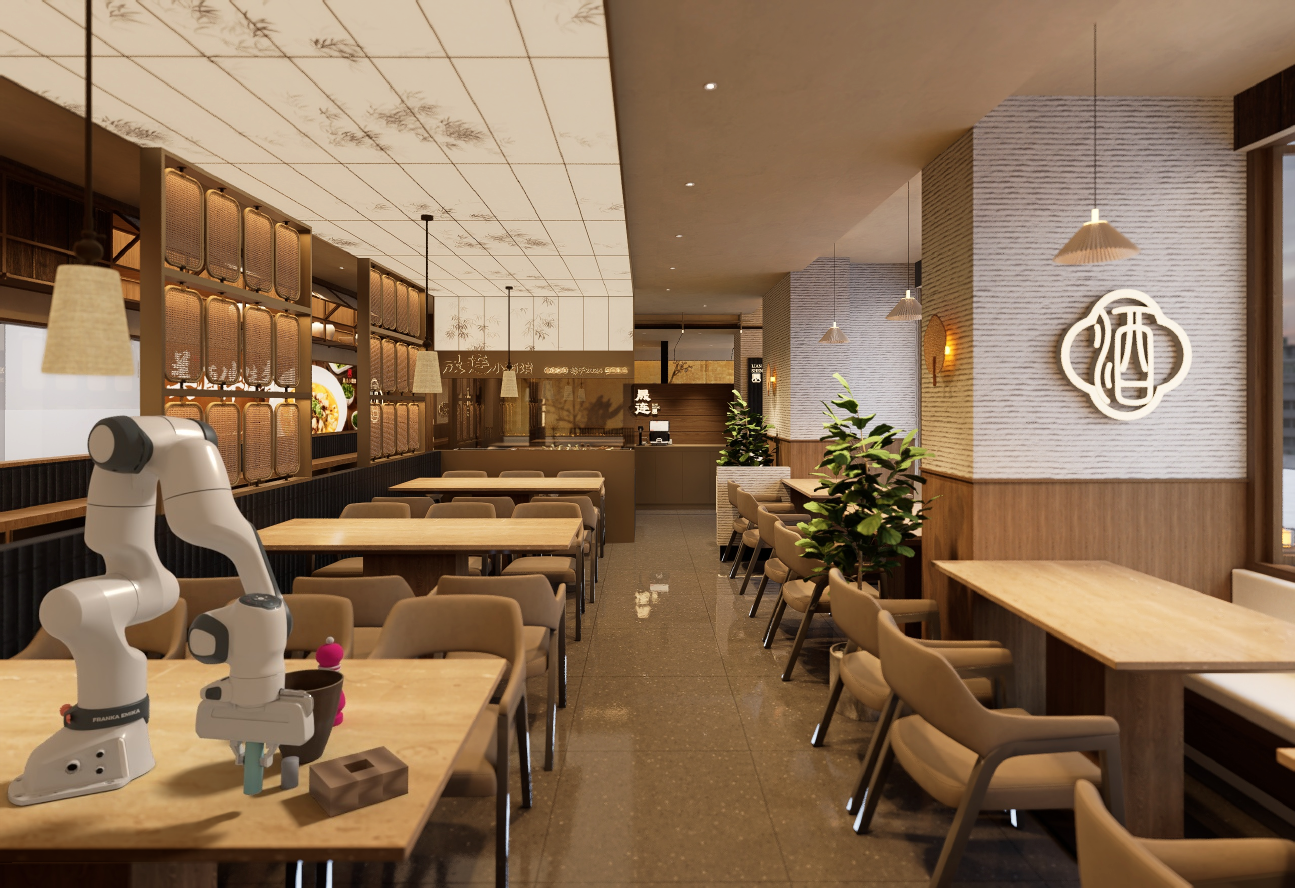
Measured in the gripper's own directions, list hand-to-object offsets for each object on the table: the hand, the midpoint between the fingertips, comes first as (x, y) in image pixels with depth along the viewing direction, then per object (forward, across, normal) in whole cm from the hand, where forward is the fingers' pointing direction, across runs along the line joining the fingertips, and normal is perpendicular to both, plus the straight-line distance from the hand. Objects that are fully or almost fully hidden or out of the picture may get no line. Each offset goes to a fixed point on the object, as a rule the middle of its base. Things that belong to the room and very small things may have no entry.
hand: (253, 764), depth 130 cm
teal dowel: (+5, 0, 0) cm, 5 cm away
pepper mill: (+8, +7, -40) cm, 42 cm away
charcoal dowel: (+8, -2, -9) cm, 12 cm away
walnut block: (+7, -16, -8) cm, 19 cm away
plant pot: (+8, +3, -22) cm, 23 cm away
